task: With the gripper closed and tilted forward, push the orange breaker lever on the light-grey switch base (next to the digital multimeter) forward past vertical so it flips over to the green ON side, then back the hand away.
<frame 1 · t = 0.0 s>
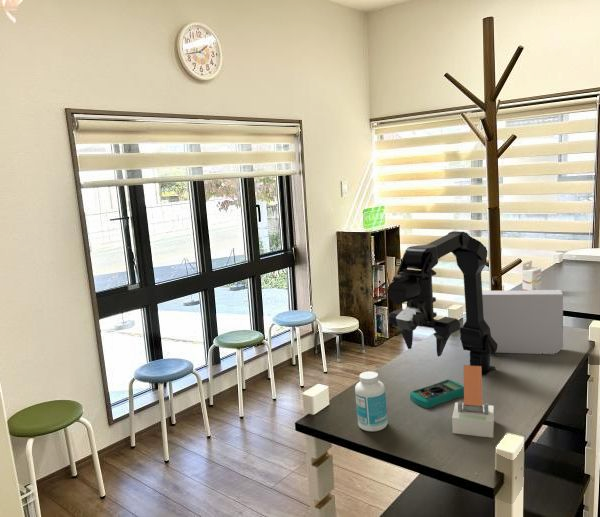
hand: (424, 352, 133), 15 cm above the table, tool pointing down, fingers open, 9 cm apart
switch base: (473, 426, 122), on the table
lever: (472, 388, 121), point 9 cm above the table, hinge at -15.0°
pill bottle: (372, 426, 127), on the table
digital multimeter: (438, 398, 139), on the table
ink cartridge box: (532, 294, 229), on the table
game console: (515, 350, 166), on the table
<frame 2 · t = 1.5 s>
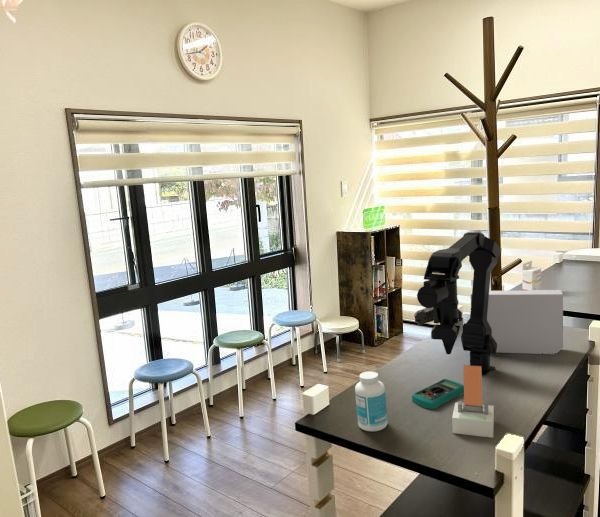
hand: (448, 353, 137), 12 cm above the table, tool pointing down, fingers closed
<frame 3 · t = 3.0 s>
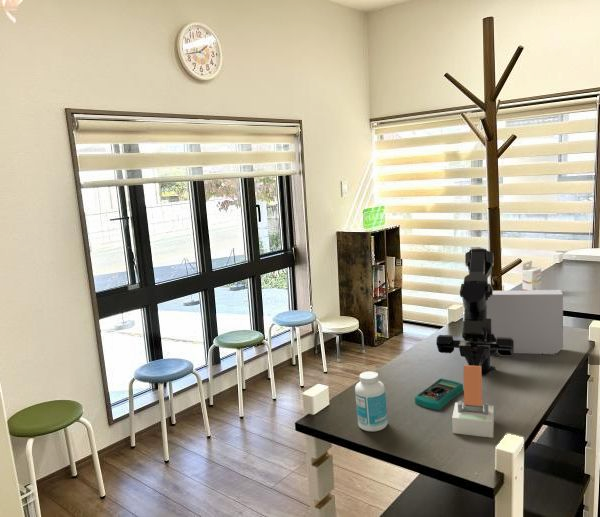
hand: (474, 376, 126), 10 cm above the table, tool tilted 45°, fingers closed
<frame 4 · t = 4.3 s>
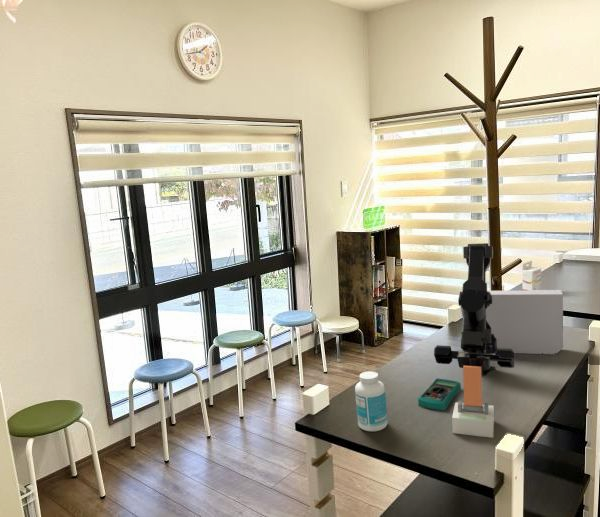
hand: (472, 389, 122), 9 cm above the table, tool tilted 45°, fingers closed, pressing on lever
lever: (472, 389, 121), point 9 cm above the table, hinge at -8.7°, touching gripper
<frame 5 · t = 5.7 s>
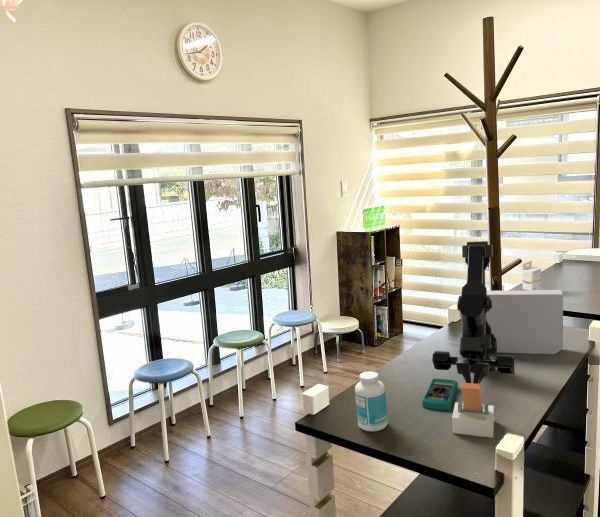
hand: (472, 396, 119), 9 cm above the table, tool tilted 45°, fingers closed, pressing on lever
lever: (471, 398, 118), point 9 cm above the table, hinge at 34.5°, touching gripper
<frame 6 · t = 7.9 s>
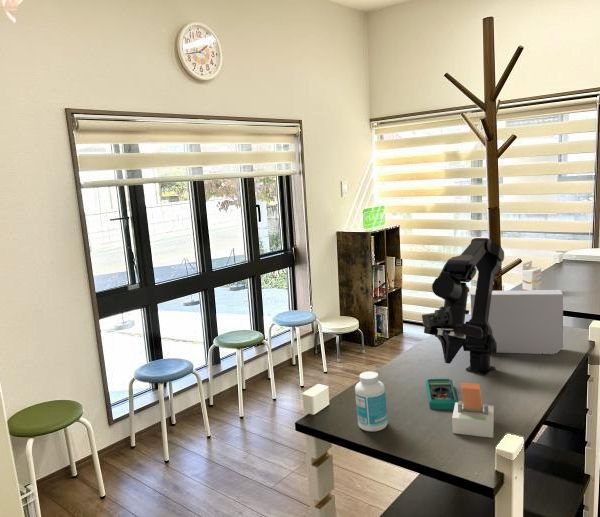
hand: (447, 363, 132), 12 cm above the table, tool tilted 25°, fingers closed
lever: (471, 398, 118), point 9 cm above the table, hinge at 34.6°
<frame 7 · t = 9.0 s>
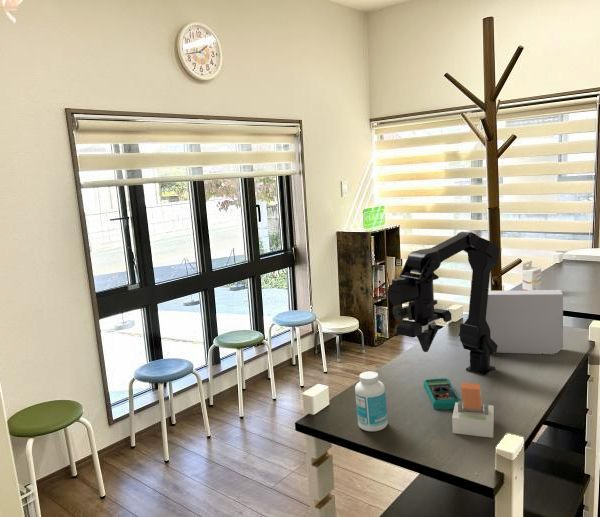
hand: (425, 351, 140), 12 cm above the table, tool pointing down, fingers closed
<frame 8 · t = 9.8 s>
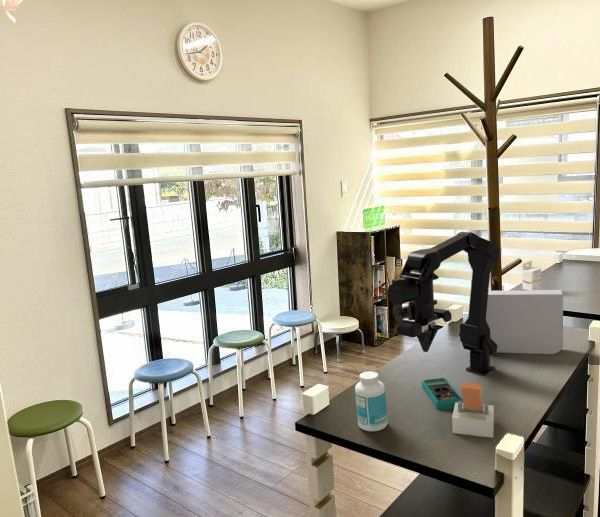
hand: (425, 351, 140), 12 cm above the table, tool pointing down, fingers closed
at the end: lever at +35° (first picture: -15°); digital multimeter moved 1.2 cm from its start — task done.
